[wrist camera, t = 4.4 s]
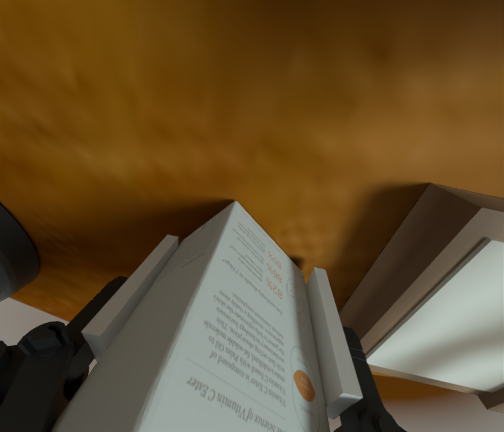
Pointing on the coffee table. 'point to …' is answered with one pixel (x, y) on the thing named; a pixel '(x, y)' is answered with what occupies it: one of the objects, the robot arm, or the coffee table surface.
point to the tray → (438, 297)
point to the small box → (211, 344)
